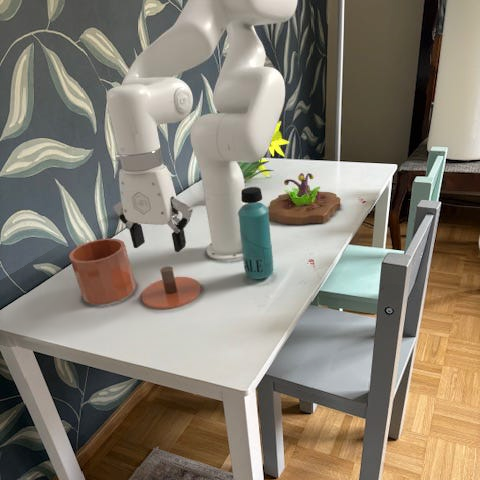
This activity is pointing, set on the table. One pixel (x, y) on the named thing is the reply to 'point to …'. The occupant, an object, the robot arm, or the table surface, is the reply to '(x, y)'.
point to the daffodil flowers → (251, 167)
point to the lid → (170, 291)
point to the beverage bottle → (255, 235)
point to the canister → (103, 271)
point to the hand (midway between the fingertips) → (159, 247)
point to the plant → (303, 204)
